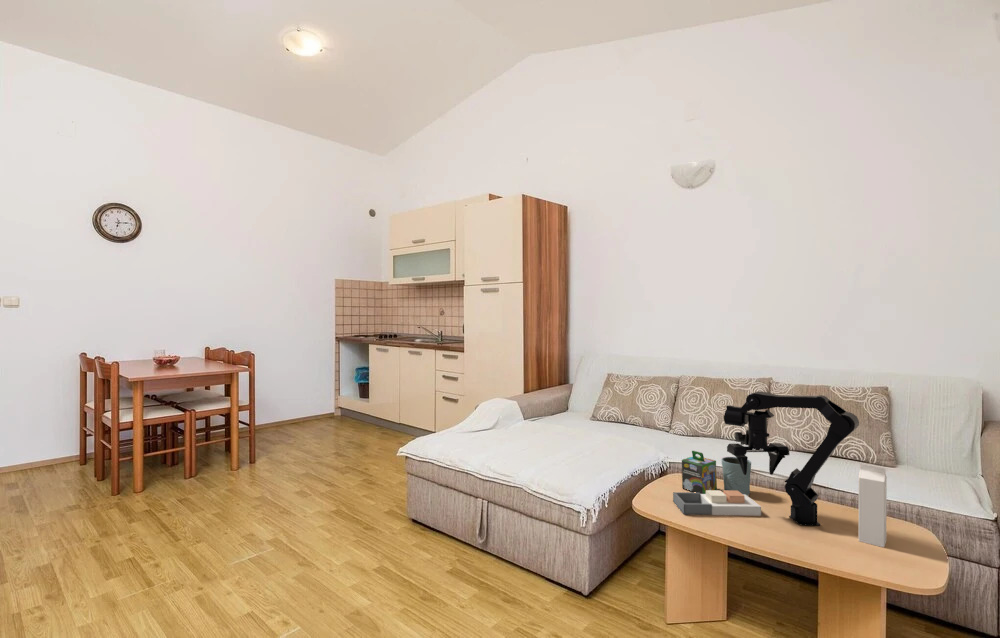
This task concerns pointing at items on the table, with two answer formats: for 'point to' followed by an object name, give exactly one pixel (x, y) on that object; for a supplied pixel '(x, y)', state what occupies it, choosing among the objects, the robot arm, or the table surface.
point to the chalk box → (699, 473)
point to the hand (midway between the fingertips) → (757, 474)
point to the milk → (872, 505)
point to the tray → (691, 503)
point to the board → (733, 507)
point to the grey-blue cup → (736, 475)
